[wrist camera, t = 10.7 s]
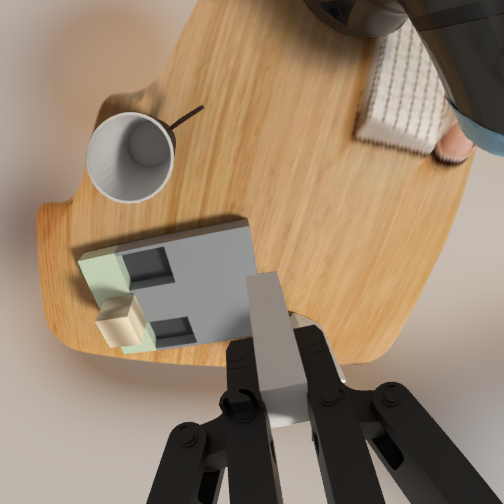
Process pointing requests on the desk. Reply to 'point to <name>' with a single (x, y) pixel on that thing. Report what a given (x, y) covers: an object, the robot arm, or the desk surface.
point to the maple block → (121, 321)
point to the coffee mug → (132, 156)
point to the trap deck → (180, 283)
